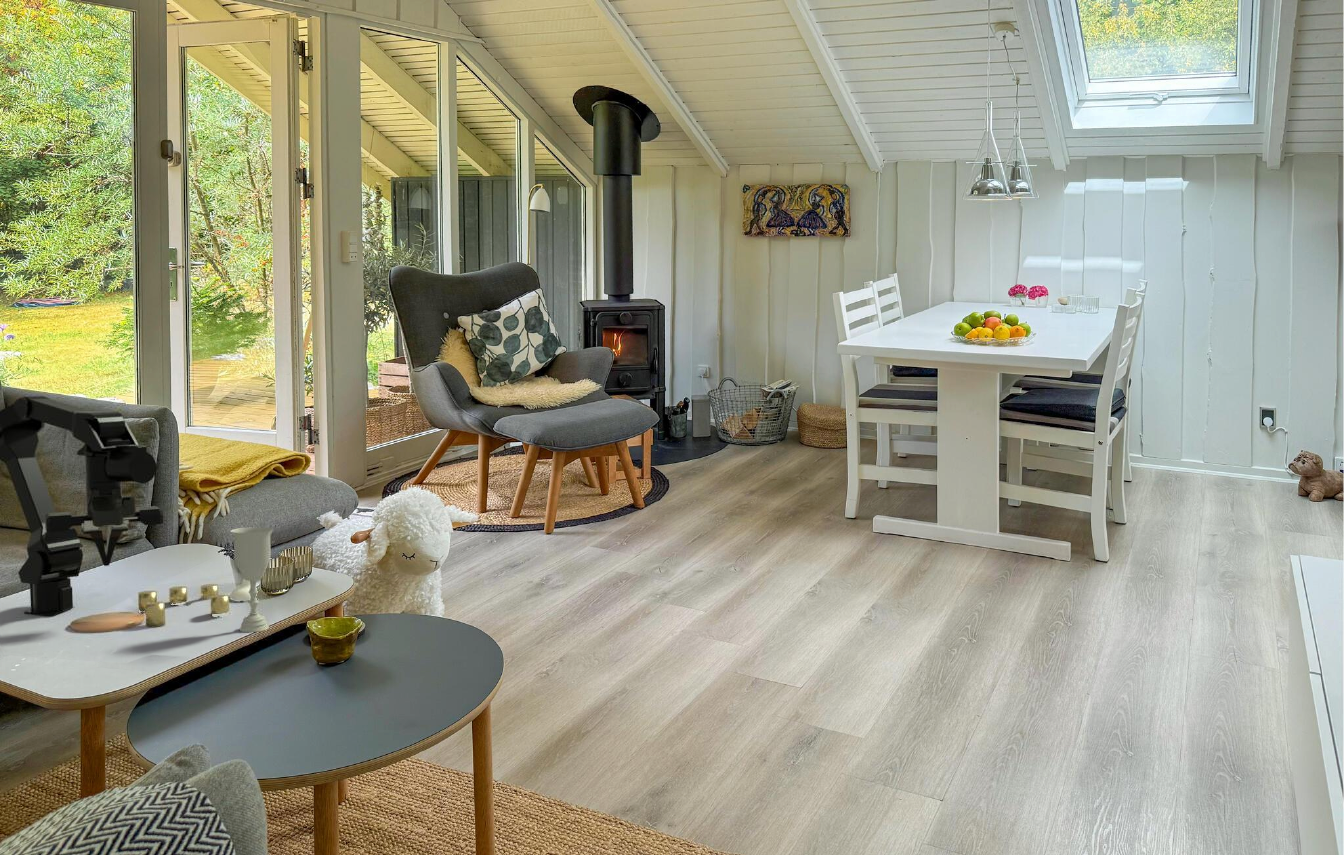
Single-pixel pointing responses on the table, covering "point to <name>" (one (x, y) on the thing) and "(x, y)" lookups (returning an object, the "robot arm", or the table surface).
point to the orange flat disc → (107, 622)
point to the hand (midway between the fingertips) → (106, 565)
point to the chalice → (252, 568)
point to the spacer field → (178, 595)
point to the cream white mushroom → (241, 591)
